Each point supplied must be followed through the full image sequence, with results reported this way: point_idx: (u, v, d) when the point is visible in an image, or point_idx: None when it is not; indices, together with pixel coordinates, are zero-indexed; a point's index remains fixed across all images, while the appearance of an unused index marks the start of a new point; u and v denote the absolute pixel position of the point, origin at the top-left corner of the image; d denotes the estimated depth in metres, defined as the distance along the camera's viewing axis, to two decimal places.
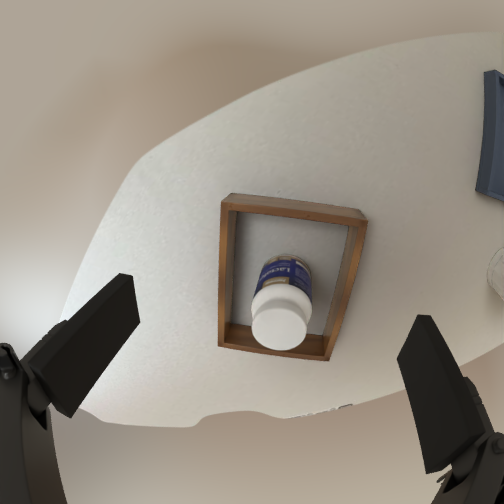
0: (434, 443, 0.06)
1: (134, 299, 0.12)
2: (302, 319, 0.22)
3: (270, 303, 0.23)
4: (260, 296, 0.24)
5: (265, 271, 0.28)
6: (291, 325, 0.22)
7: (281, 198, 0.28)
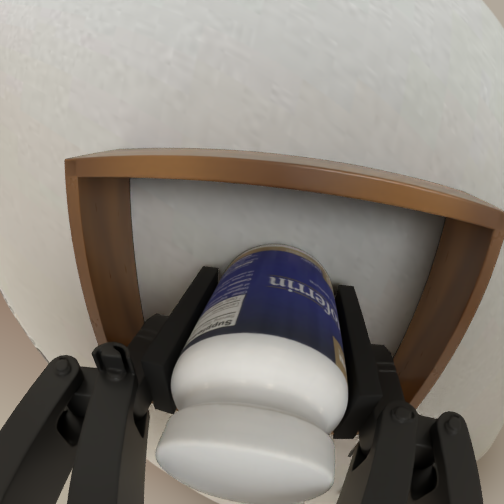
0: None
1: None
2: None
3: (333, 451, 0.05)
4: (324, 382, 0.06)
5: (324, 293, 0.10)
6: (269, 496, 0.05)
7: None
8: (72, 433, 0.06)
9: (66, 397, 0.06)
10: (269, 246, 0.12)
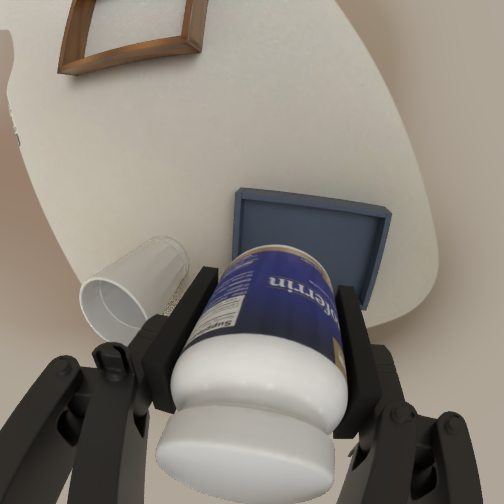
0: None
1: None
2: None
3: (333, 452, 0.05)
4: (324, 383, 0.06)
5: (324, 293, 0.10)
6: (269, 497, 0.05)
7: None
8: (72, 433, 0.06)
9: (66, 397, 0.06)
10: (269, 246, 0.12)
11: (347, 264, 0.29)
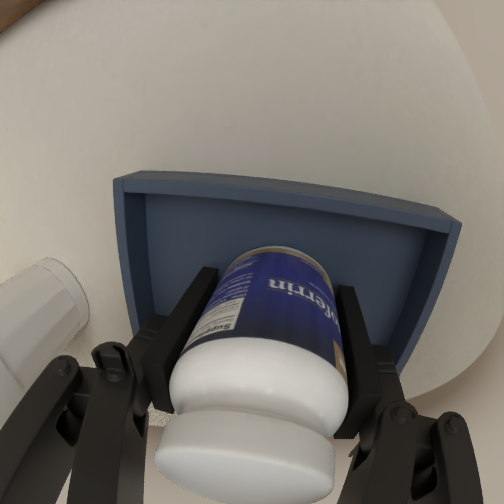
0: None
1: None
2: None
3: (334, 456, 0.05)
4: (324, 387, 0.06)
5: (325, 295, 0.10)
6: (268, 501, 0.05)
7: None
8: (72, 433, 0.06)
9: (65, 397, 0.06)
10: (269, 248, 0.12)
11: None
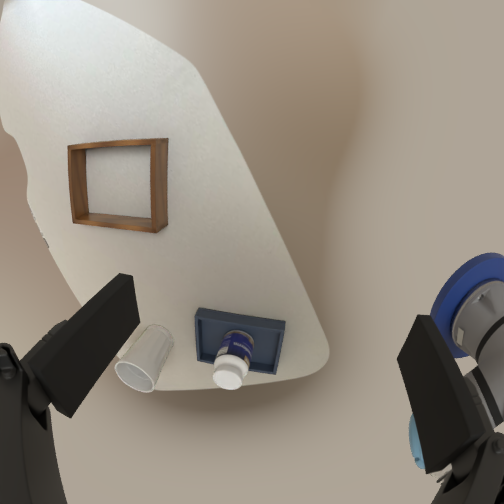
0: (434, 443, 0.06)
1: (134, 299, 0.12)
2: (236, 388, 0.40)
3: (241, 375, 0.40)
4: (240, 363, 0.41)
5: (246, 345, 0.45)
6: (232, 385, 0.40)
7: None
8: None
9: None
10: (235, 331, 0.47)
11: (263, 349, 0.49)
